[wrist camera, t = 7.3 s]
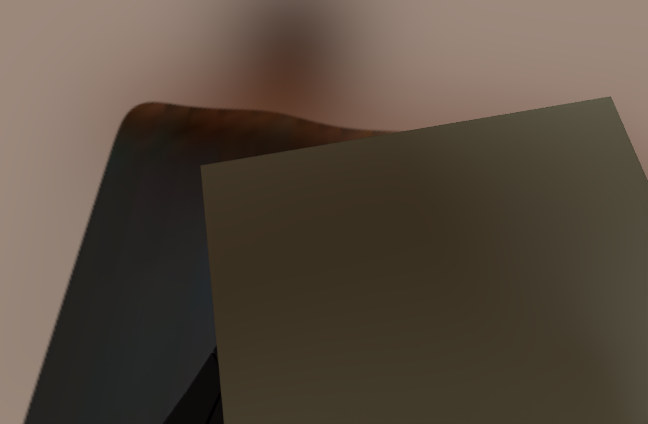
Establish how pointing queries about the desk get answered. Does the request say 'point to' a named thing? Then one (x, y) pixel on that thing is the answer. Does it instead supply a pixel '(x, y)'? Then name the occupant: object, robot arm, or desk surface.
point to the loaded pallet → (436, 275)
